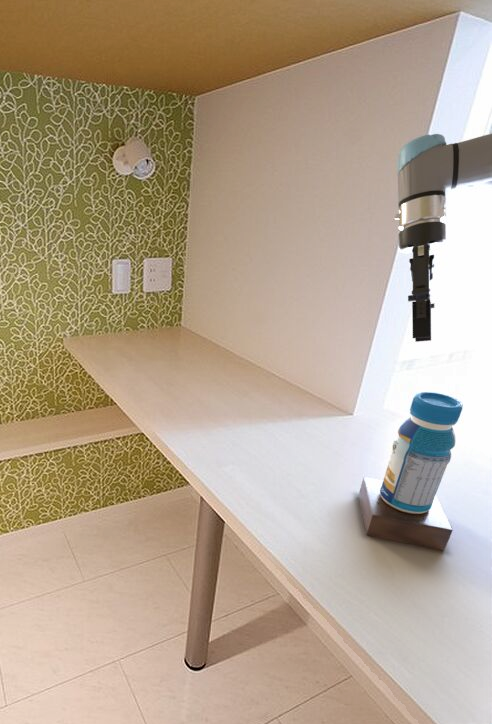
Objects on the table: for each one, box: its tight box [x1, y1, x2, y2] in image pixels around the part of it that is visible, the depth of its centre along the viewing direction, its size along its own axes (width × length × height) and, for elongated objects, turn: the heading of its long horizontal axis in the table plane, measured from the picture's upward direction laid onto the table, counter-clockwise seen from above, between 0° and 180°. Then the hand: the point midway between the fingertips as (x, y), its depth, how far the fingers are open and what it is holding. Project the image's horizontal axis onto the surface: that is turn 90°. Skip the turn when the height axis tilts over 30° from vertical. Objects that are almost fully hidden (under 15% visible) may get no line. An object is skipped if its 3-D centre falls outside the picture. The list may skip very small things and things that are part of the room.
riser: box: [357, 476, 454, 552], centre depth 79 cm, size 12×12×4 cm
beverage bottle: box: [380, 391, 463, 514], centre depth 74 cm, size 8×8×20 cm
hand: (422, 339), depth 84 cm, fingers open, 13 cm apart
